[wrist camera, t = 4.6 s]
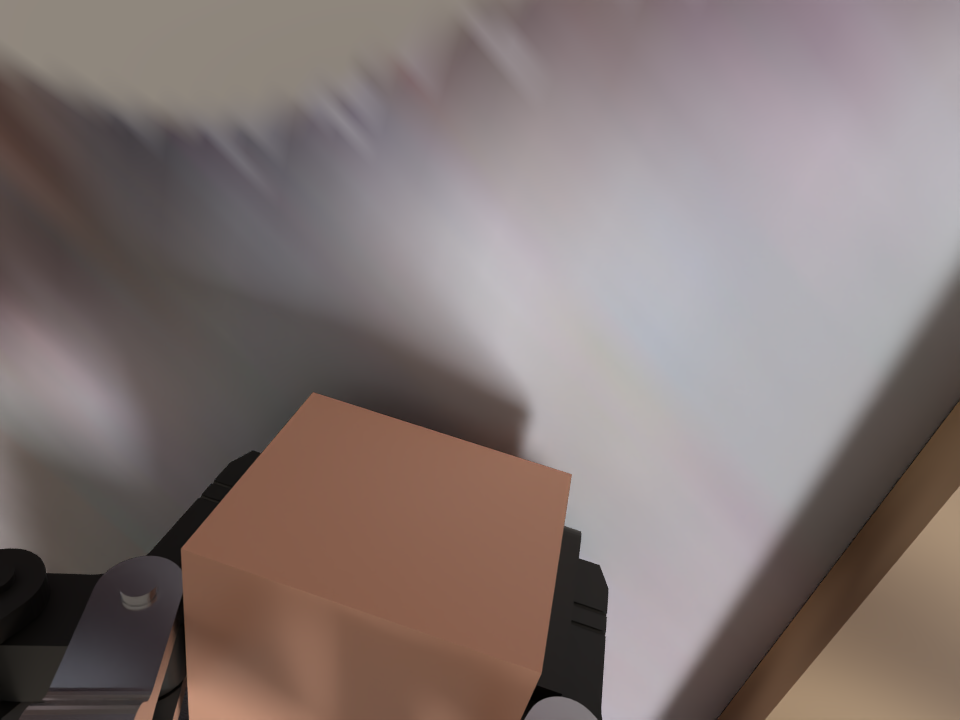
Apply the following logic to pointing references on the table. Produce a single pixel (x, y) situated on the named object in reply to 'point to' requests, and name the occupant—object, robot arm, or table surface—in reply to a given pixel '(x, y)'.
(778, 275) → the table surface
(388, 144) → the table surface
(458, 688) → the block
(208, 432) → the table surface
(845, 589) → the board
